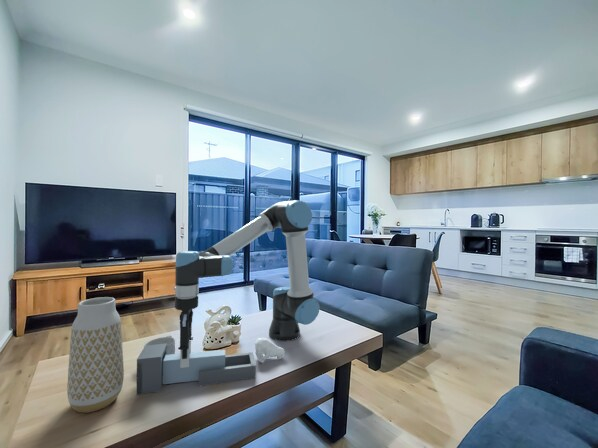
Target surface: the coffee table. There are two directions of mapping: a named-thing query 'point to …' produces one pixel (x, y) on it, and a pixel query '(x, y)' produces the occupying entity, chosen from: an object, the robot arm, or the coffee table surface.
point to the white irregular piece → (267, 349)
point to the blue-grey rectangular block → (191, 365)
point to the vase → (95, 356)
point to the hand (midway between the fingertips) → (185, 363)
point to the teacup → (163, 340)
